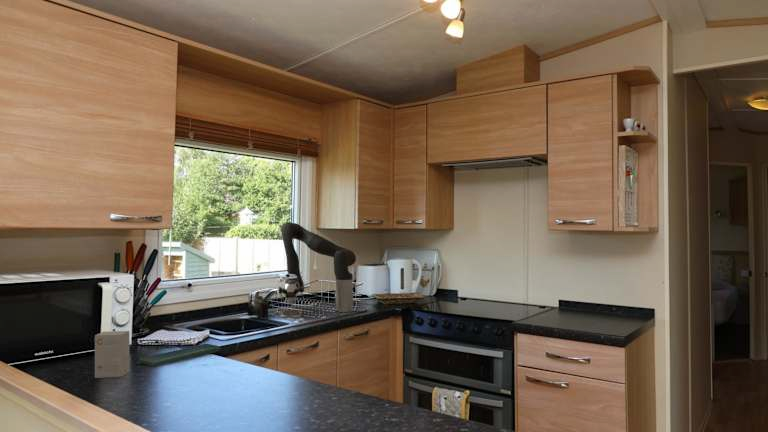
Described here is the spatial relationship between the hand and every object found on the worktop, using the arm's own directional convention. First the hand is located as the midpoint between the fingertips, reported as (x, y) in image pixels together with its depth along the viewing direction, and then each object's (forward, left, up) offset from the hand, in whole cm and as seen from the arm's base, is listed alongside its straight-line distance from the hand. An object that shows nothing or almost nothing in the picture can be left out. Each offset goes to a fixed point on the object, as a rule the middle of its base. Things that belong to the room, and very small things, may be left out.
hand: (290, 291), depth 268 cm
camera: (+17, -1, -13) cm, 21 cm away
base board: (0, -2, -13) cm, 13 cm away
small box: (+48, +102, -13) cm, 113 cm away
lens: (0, -3, -6) cm, 7 cm away
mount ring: (0, -2, -13) cm, 13 cm away
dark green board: (+32, +81, -13) cm, 89 cm away
